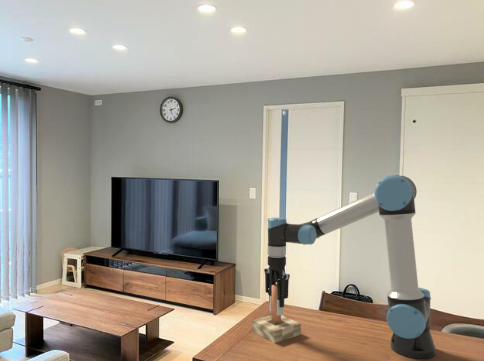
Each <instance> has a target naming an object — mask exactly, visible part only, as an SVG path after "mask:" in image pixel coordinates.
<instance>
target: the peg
mask: <svg viewBox="0 0 484 361" xmlns="http://www.w3.org/2000/svg"><path fill="white" fill-rule="evenodd" d="M277 298H278V289H277V283H276V284H273V285H272V304H271V312H270V313H271V314H270V315H271V320H272V321H281V315H279V316H278V315H277Z"/></svg>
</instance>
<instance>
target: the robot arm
mask: <svg viewBox="0 0 484 361" xmlns="http://www.w3.org/2000/svg"><path fill="white" fill-rule="evenodd" d="M417 192H418V191H417V186H416V184H415V183H414V181H413V180H412V179H410V178H409V177H407V176H404V175H399V174H391V175H387V176H385V177H383V178H382V179H380V180H379V181H378V183H376V185H375V188H374V191H373V192H371V193H369V194H367V195H364V196H362V197H360V198H357V199H356V200H354V201H351V202H349V203H347V204H345V205H342V206H341V207H339V208H337V209H334V210H332V211H330V212H327V213H325V214H323V215H321V216H319V217H317V218H314V219H312V220H309V221H307V222H304V223H299V224H298V223H297V224H295V223H289V222H287V218H285V217H271V218H269V219H268V223H267V265H268V267H267V268H264V280H265V281H264V282H265V283H264V285H265V288H264V289H265V290H264V292H265V293H266V294H267V296H268V302H269V312H270V313H271V304H272V285H273V284H277V289H278V298H277V315H278V316H279V315H283V316H284V307H285V300H286V299H288V298H289V284H290V282H289V280H290V279H291V278H290V277H291V275H290V273H287V272H286V270H285V267H286V266H287V256H286V255H287V243H290V244H299V245H303V246H305V245H311V246H312V245H313V244H314V243H315V242H316V240H317V239H320V238H321V237H323V236H325V235H327V234H330V233H332V232H334V231H336V230H338V229H339V230H340V229H341V228H344V227H346V226H349V225H351V224H353V223H356V222H358V221H360V220H363V219H365V218H368V217H370V216H372V215H374V214H375V215H376V214H377V213H378V214H379V216H380V217H381V218H382V219H383V220H384V226H385V227H384V228H385V238H386V248H387V250H386V251H387V258H388V259H387V260H388V270H389V279H390V288H391V289H390V290H389V291H388V292H387V293H386V296H387V306H388V310H387V312H386V322H387V326H388V327H389V329H390V330H391V332H392V335H391V338H390V349H391V350H393V352H395V353H397V354H398V355H401V356H404V357H408V358H412V359H420V360H421V359H423V360H424V359H425V360H426V359H431V358H434V357H435V355H436V345H435V343H434V339H433V336H432V333H431V300H432V298H431V292H430V290H428V289H426V288H423V287H419V281H418V272H417V271H418V270H417V262H416V251H415V244H414V243H415V242H414V232H413V223H412V218H413V217H414V216H415V215H416V203H415V199H416V197H417Z"/></svg>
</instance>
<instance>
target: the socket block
mask: <svg viewBox="0 0 484 361" xmlns="http://www.w3.org/2000/svg"><path fill="white" fill-rule="evenodd" d="M251 328H252V329H251V330H252V332H253V333H255V334H256V335H258V336H261V337H262V338H264V339H266V340H267V341H270V342H271V343H273V344H276V343H279V342H282V341H286V340H289V339H291V338H295V337H298V336H301V335H302V323H301V322H299V321H296V320H293V319H291V318H289V317H287V316H285V315H284V314H283V315H281V321H272V320H271V314H270V315H268V316H264V317H260V318H259V317H258V318H256V319H252V327H251Z"/></svg>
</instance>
